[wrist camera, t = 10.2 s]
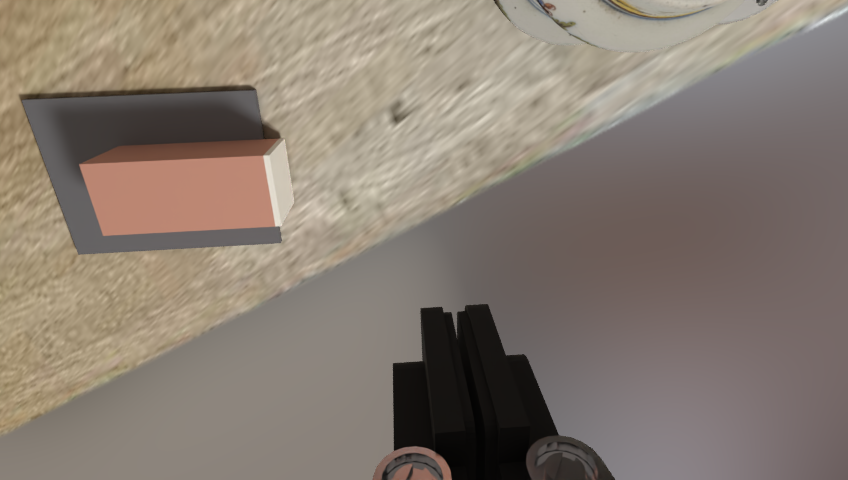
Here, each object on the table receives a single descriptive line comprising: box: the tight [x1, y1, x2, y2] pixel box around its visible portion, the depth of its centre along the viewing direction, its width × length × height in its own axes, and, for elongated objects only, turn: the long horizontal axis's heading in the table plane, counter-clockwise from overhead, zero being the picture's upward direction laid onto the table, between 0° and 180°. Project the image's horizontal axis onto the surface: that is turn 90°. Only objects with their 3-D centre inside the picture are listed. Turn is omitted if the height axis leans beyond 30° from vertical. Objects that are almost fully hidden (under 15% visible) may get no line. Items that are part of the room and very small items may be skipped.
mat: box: [22, 90, 282, 254], centre depth 37 cm, size 16×12×1 cm
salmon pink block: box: [79, 138, 294, 236], centre depth 34 cm, size 5×5×12 cm
